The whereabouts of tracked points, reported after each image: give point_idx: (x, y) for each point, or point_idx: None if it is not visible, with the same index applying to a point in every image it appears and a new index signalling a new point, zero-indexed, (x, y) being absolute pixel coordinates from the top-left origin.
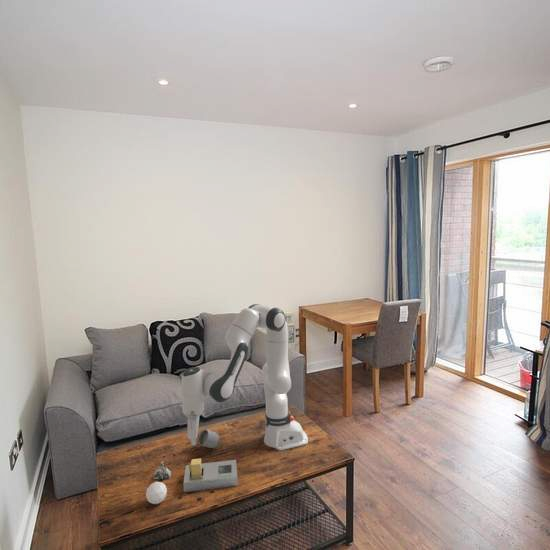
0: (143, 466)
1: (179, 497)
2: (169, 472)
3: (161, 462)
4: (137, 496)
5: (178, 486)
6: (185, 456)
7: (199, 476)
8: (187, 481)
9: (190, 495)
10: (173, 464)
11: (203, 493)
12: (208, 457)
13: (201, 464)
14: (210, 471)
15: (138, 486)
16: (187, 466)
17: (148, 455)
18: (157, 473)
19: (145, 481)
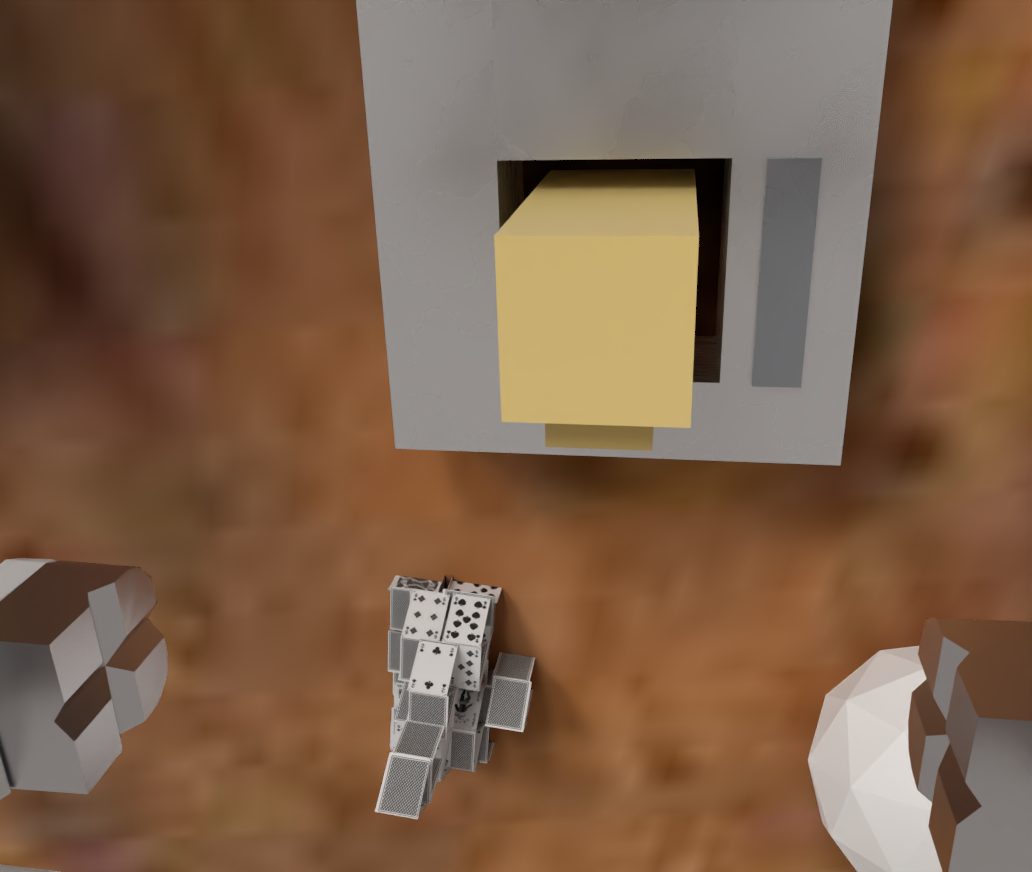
0: (242, 840)
1: (914, 457)
2: (435, 616)
3: (418, 809)
4: (749, 864)
5: (678, 480)
6: (47, 427)
7: (735, 221)
8: (818, 408)
9: (920, 318)
10: (216, 559)
11: (938, 128)
12: (56, 93)
13: (396, 203)
14: (630, 21)
15: (580, 864)
16: (425, 424)
17: (49, 807)
18: (465, 751)
19: (506, 811)
